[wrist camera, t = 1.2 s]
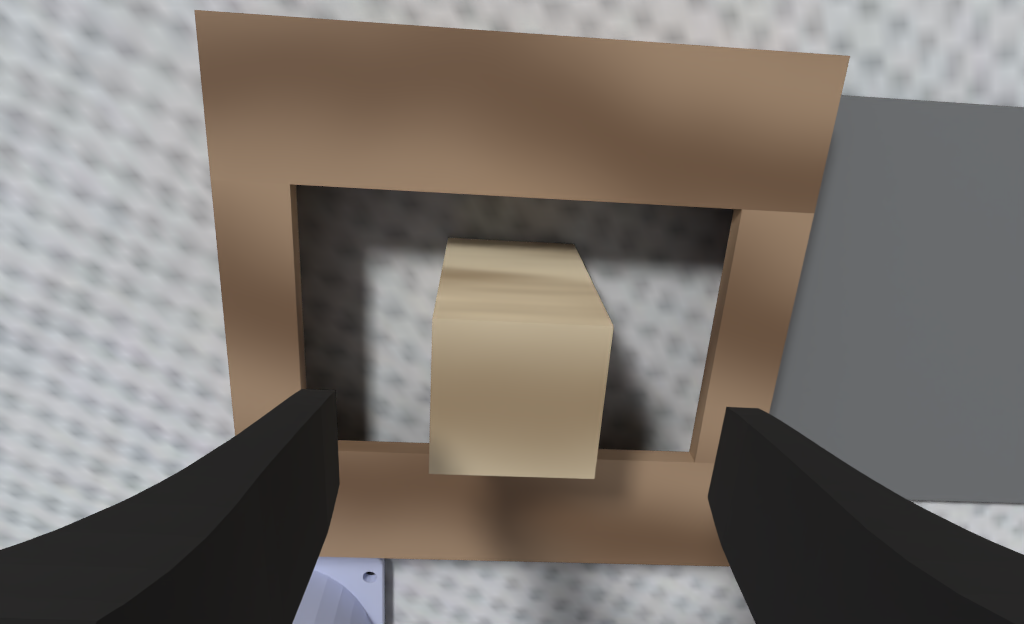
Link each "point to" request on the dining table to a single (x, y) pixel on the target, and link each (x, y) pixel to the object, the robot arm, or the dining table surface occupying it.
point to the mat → (915, 301)
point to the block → (517, 362)
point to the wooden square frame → (515, 173)
